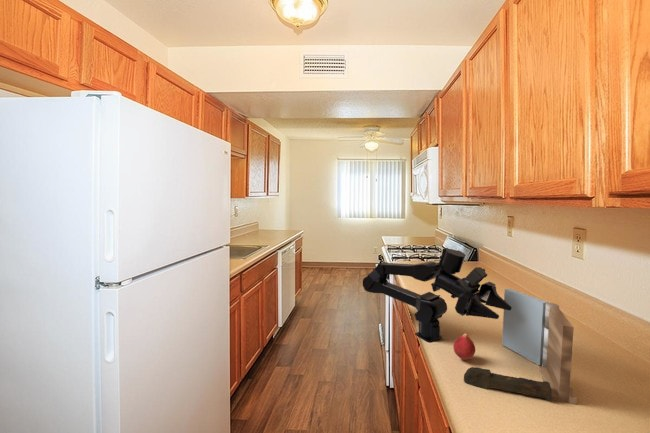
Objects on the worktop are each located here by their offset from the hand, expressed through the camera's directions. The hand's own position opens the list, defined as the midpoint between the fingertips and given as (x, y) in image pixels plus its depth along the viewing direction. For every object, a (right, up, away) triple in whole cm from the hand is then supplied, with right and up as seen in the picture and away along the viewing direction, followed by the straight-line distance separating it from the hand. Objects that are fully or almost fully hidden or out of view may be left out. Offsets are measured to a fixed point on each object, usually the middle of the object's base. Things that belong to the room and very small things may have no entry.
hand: (505, 313), depth 93 cm
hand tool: (-6, -17, -11) cm, 21 cm away
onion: (-10, -15, +4) cm, 18 cm away
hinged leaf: (+9, -14, +5) cm, 18 cm away
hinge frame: (+9, -16, -8) cm, 20 cm away
